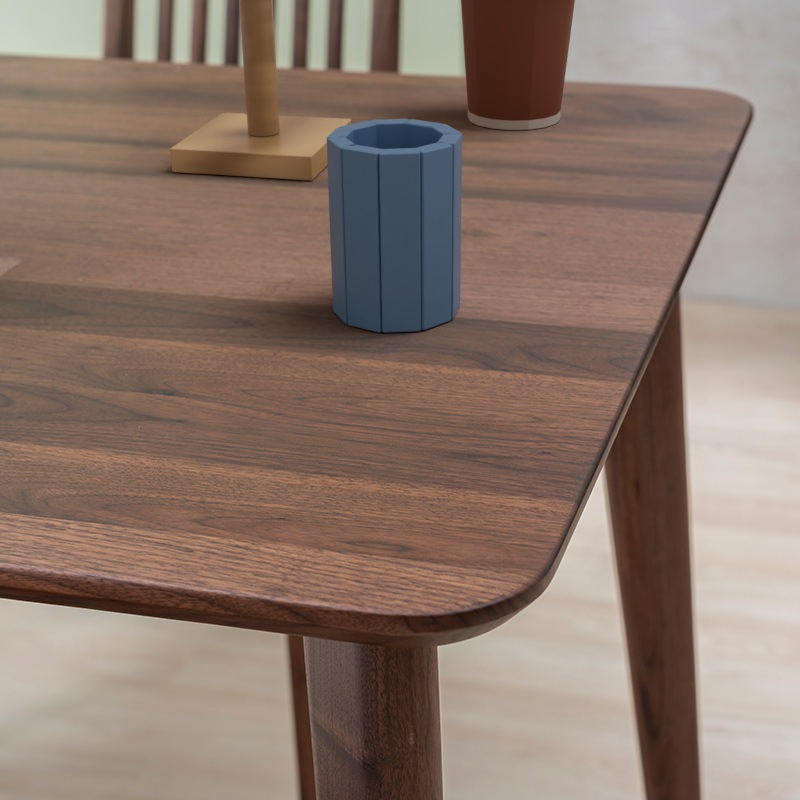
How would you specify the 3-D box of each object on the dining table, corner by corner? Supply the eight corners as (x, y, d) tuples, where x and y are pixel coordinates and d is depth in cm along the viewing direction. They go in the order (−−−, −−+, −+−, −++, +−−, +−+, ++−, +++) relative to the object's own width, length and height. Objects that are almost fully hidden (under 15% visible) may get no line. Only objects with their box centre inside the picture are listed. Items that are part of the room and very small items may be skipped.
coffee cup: (577, 137, 83) (588, -54, 78) (440, 133, 84) (441, -56, 79) (581, 104, 91) (591, -72, 86) (456, 100, 92) (458, -73, 87)
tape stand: (171, 172, 77) (154, -6, 72) (223, 134, 85) (211, -29, 80) (312, 181, 75) (304, -1, 70) (352, 141, 83) (347, -25, 78)
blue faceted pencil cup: (319, 327, 56) (312, 150, 52) (354, 280, 61) (349, 115, 57) (443, 338, 54) (444, 157, 51) (468, 289, 59) (471, 121, 56)
